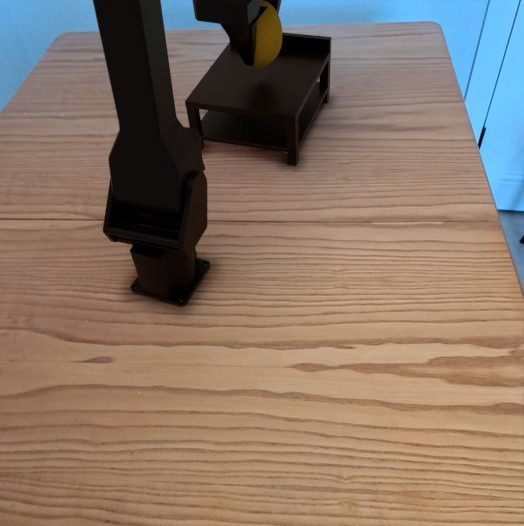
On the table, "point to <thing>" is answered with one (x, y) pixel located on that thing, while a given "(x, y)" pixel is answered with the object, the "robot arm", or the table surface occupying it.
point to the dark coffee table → (263, 96)
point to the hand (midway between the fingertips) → (259, 53)
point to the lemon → (268, 36)
